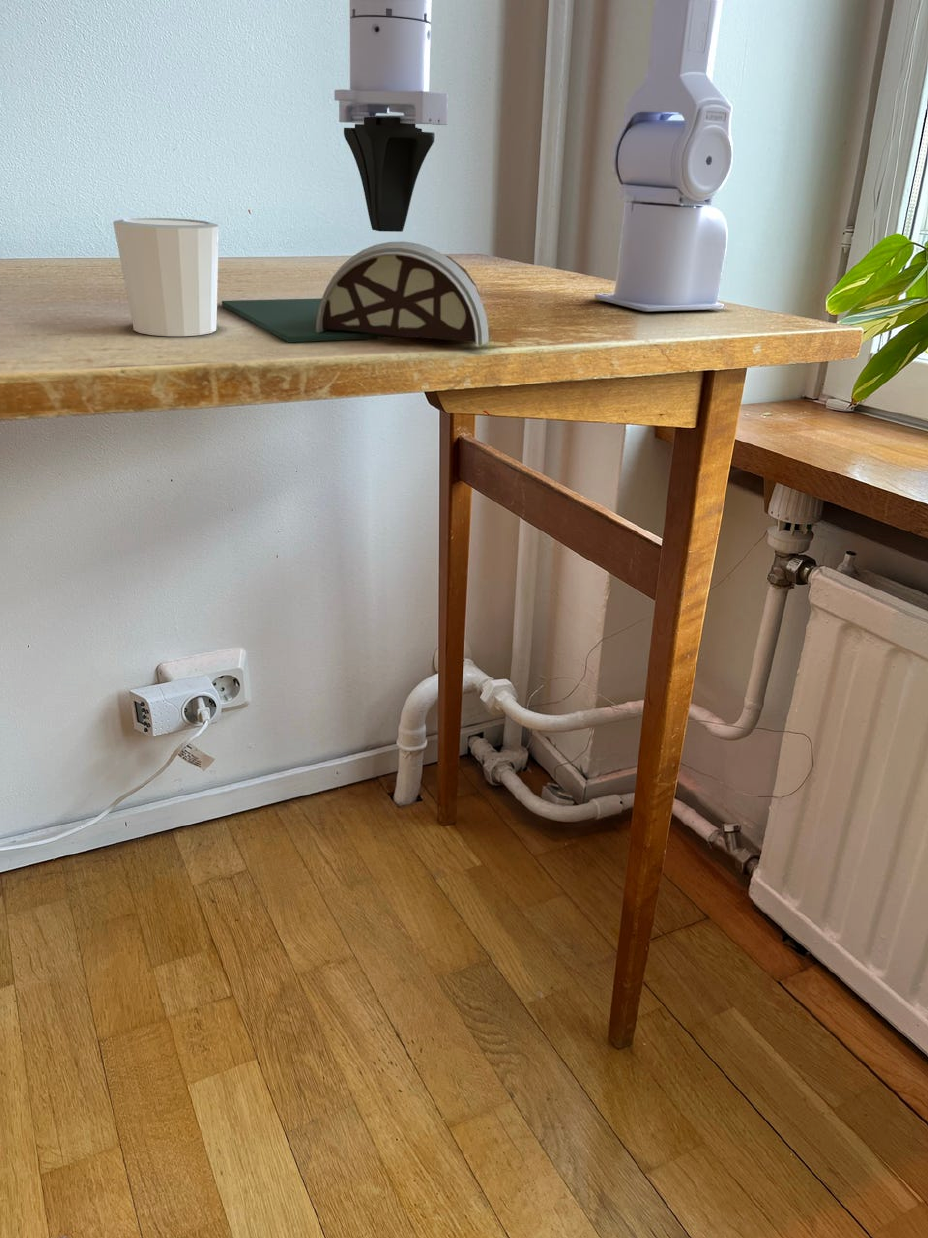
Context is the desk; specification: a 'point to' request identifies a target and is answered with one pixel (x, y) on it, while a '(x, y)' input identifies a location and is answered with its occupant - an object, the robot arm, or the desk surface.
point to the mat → (292, 319)
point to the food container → (404, 295)
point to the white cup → (170, 274)
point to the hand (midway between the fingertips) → (387, 230)
